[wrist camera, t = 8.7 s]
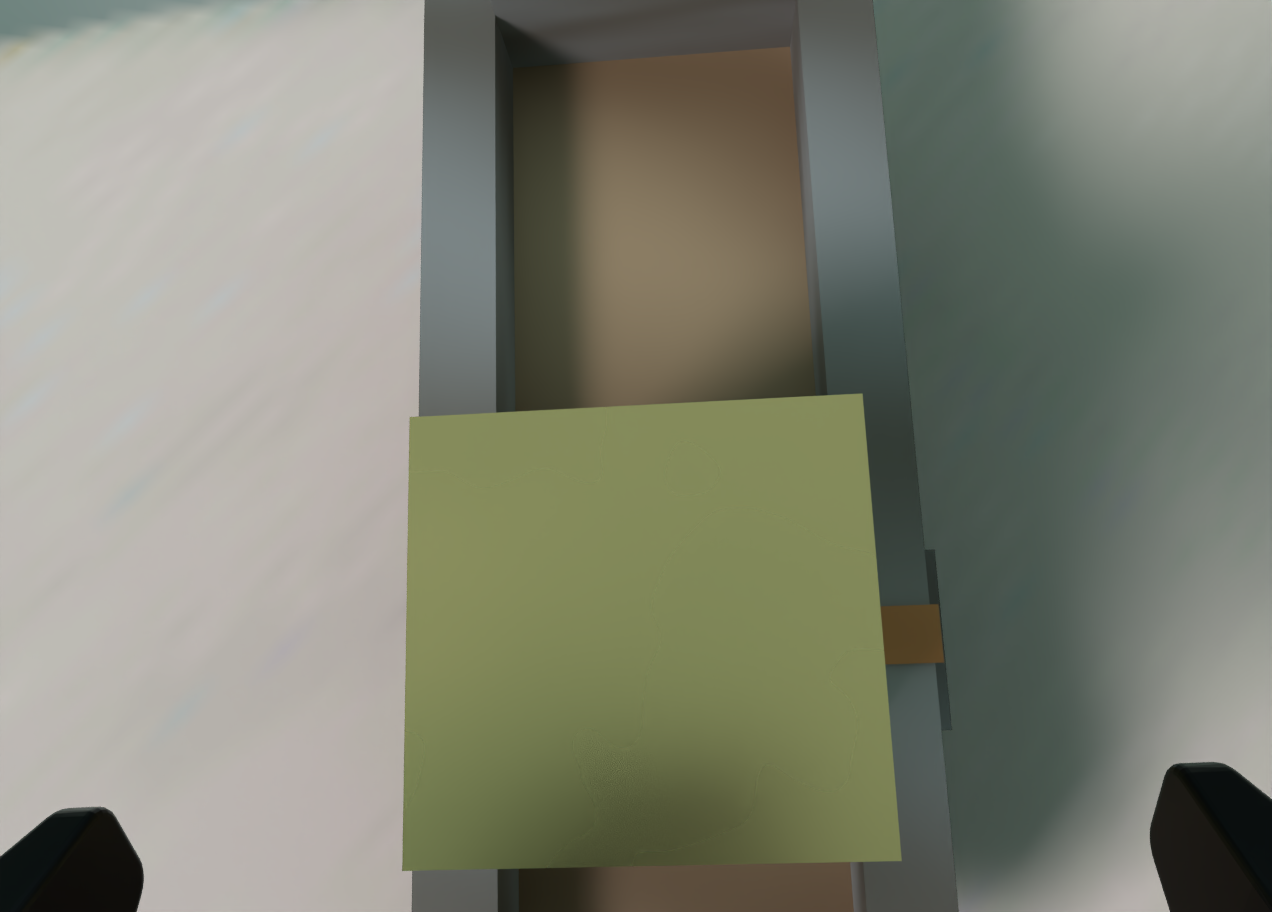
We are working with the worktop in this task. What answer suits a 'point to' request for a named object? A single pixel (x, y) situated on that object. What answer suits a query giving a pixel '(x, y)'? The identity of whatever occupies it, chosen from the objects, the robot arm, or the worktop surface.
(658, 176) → the grey open tray
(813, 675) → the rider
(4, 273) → the worktop surface
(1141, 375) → the worktop surface
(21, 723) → the worktop surface
